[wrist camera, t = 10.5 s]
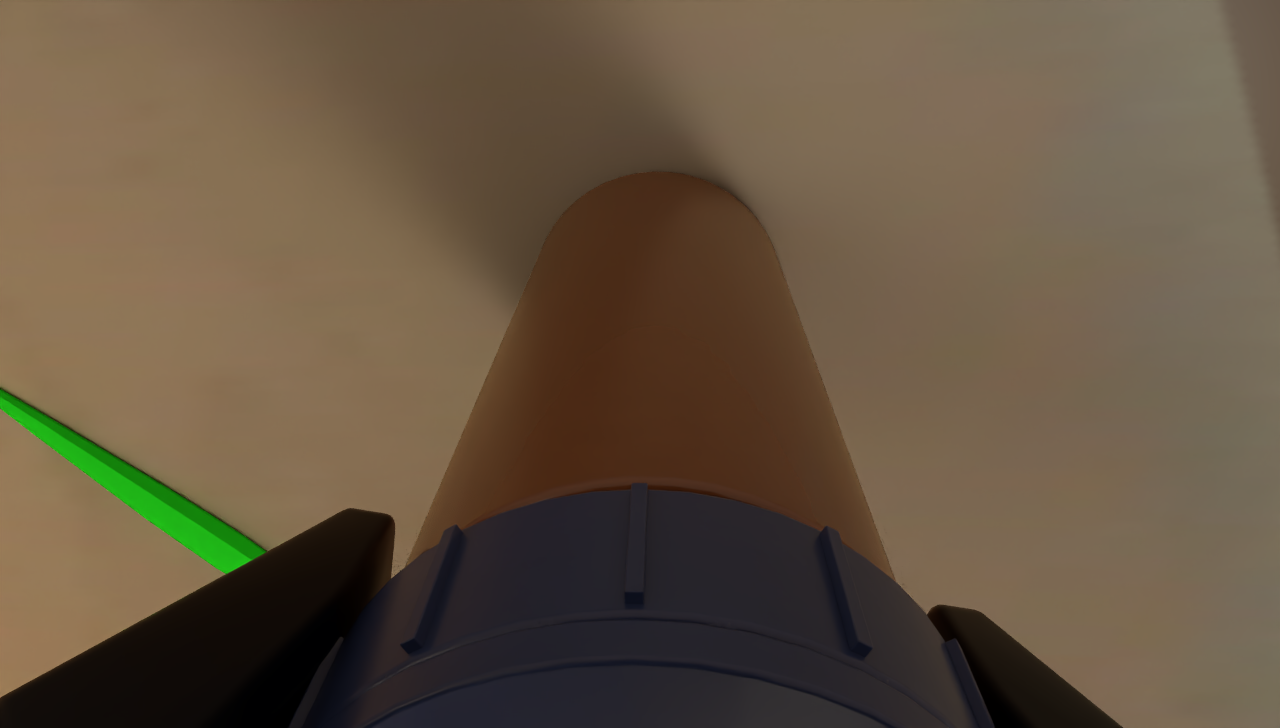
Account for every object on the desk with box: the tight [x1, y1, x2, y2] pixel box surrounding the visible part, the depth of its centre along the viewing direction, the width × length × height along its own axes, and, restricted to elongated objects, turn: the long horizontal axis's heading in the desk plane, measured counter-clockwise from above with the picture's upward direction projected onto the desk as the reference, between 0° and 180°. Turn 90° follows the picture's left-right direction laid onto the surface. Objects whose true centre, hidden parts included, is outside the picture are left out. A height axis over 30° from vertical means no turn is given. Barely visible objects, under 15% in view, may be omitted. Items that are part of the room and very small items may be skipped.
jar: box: [405, 172, 896, 582], centre depth 12 cm, size 5×5×12 cm
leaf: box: [0, 389, 267, 574], centre depth 20 cm, size 1×14×1 cm, turn 49°
